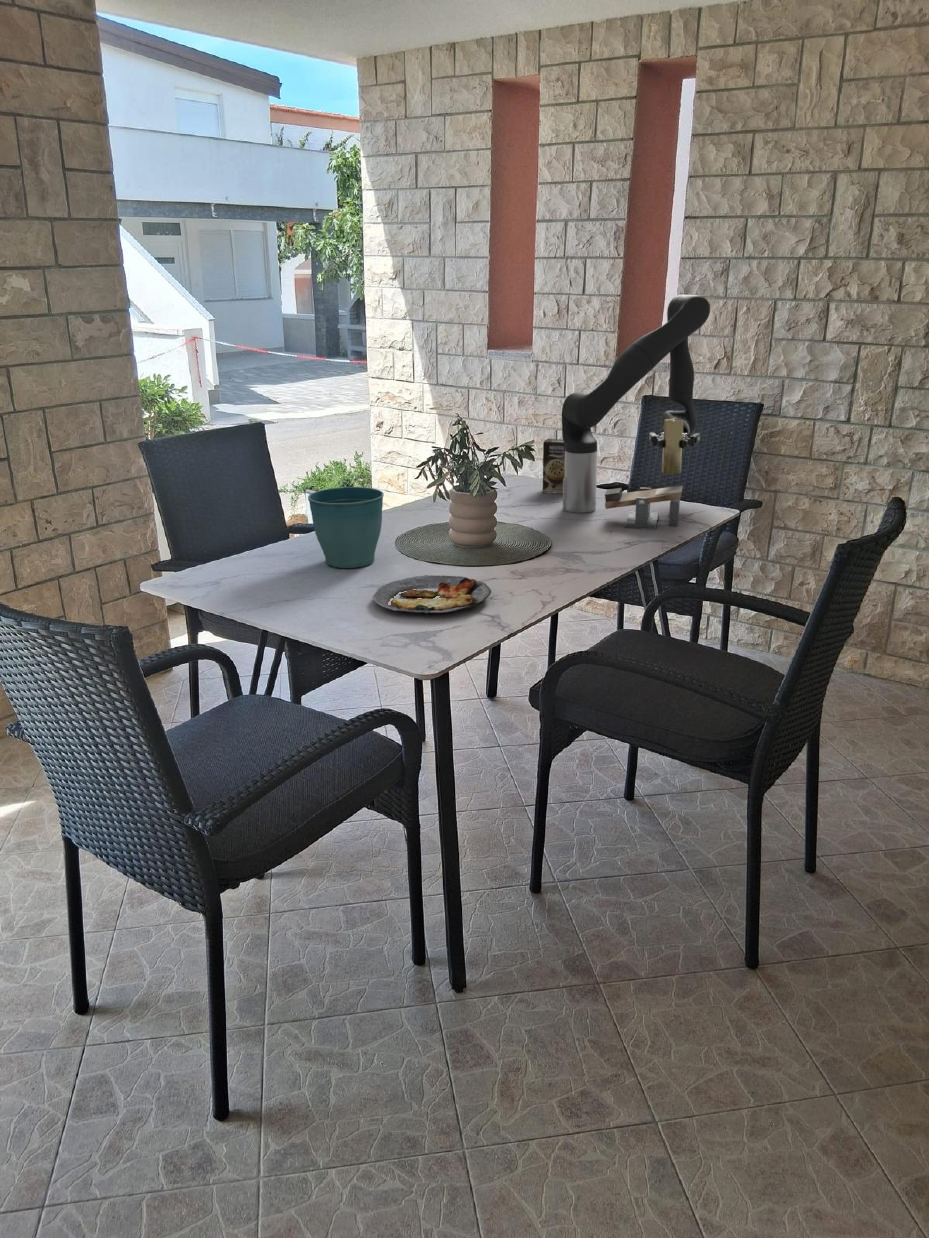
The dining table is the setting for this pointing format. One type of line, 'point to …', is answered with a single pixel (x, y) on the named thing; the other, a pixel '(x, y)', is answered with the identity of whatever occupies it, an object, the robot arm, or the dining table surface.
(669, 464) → the block
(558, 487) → the cookie box
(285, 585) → the dining table surface
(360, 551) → the flower pot
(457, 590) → the food plate
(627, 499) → the beam
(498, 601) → the dining table surface
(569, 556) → the dining table surface
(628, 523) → the beam stand
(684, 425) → the robot arm
